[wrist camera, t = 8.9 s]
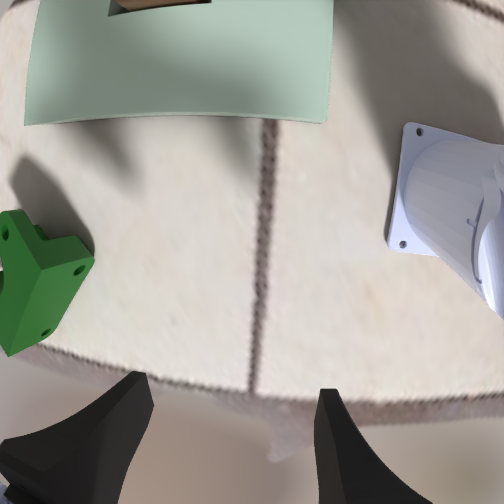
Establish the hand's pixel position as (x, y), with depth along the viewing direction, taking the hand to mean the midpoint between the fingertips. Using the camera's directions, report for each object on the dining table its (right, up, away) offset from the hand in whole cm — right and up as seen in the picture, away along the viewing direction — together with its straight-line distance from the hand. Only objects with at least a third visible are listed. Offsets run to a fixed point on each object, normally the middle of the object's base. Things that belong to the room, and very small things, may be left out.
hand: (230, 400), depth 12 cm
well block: (-4, +23, +3) cm, 23 cm away
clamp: (-16, +5, +11) cm, 20 cm away
